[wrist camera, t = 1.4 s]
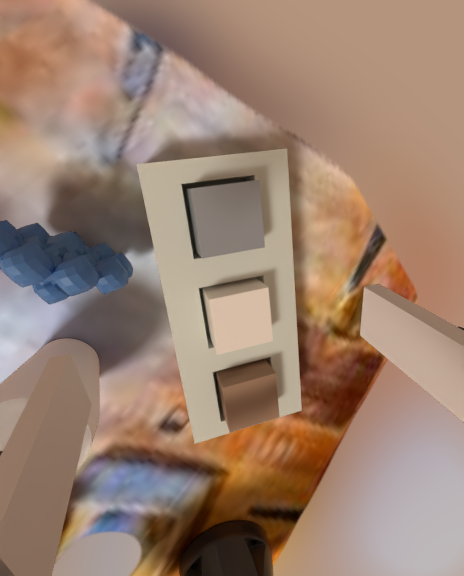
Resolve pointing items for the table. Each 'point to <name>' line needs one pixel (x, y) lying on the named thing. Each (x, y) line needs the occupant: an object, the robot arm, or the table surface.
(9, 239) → the grapes
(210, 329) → the ivory key
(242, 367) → the walnut key
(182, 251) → the key panel
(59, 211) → the table surface
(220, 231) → the slate key
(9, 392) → the cup
